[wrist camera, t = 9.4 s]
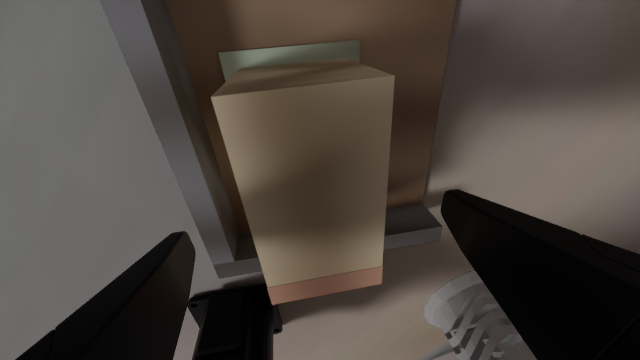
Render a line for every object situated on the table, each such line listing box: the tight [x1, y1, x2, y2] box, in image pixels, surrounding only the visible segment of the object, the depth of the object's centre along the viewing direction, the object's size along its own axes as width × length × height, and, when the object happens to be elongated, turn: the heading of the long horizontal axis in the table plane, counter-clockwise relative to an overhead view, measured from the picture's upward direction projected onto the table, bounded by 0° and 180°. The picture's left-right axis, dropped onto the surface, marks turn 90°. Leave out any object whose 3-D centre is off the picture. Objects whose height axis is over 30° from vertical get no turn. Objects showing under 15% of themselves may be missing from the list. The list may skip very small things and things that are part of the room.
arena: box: [100, 0, 457, 278], centre depth 12 cm, size 18×14×3 cm
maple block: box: [211, 58, 395, 305], centre depth 12 cm, size 5×9×6 cm, turn 4°
